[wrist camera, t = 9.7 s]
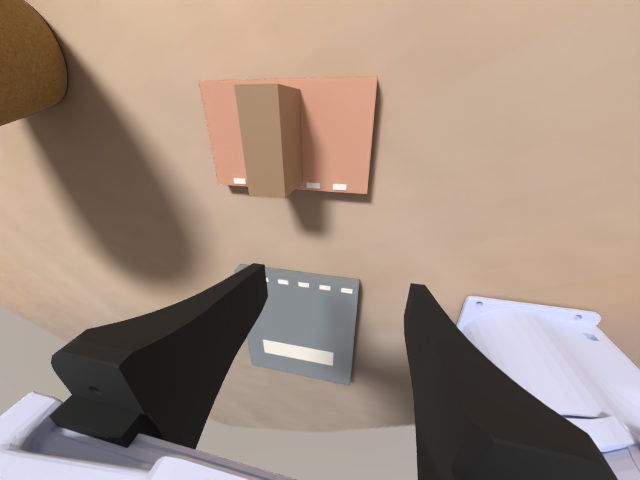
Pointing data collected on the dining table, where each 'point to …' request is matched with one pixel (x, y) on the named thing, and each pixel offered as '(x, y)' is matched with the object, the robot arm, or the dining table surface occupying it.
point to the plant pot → (28, 63)
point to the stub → (291, 133)
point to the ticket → (306, 325)
